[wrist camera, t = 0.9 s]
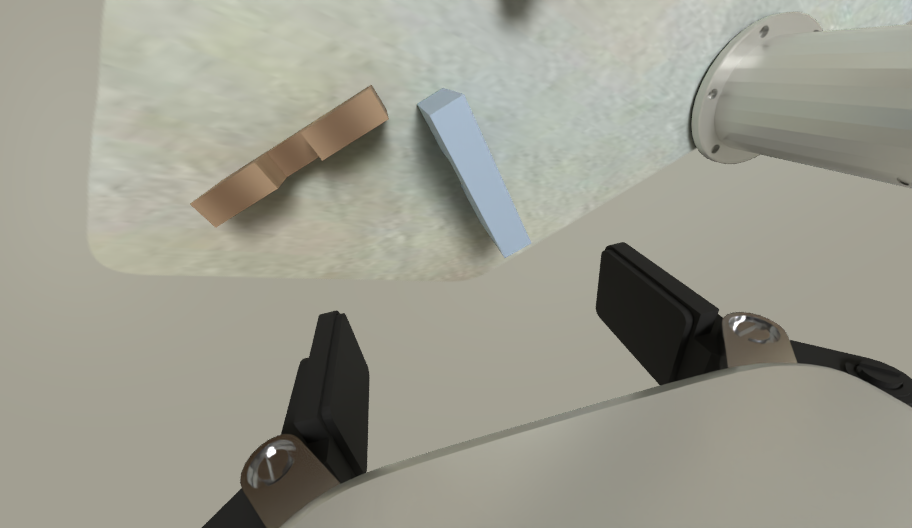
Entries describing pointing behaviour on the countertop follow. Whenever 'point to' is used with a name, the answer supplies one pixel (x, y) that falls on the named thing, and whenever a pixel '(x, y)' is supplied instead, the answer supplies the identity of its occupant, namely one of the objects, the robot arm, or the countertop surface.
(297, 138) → the walnut slot plate
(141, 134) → the countertop surface
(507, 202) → the blue slot plate
